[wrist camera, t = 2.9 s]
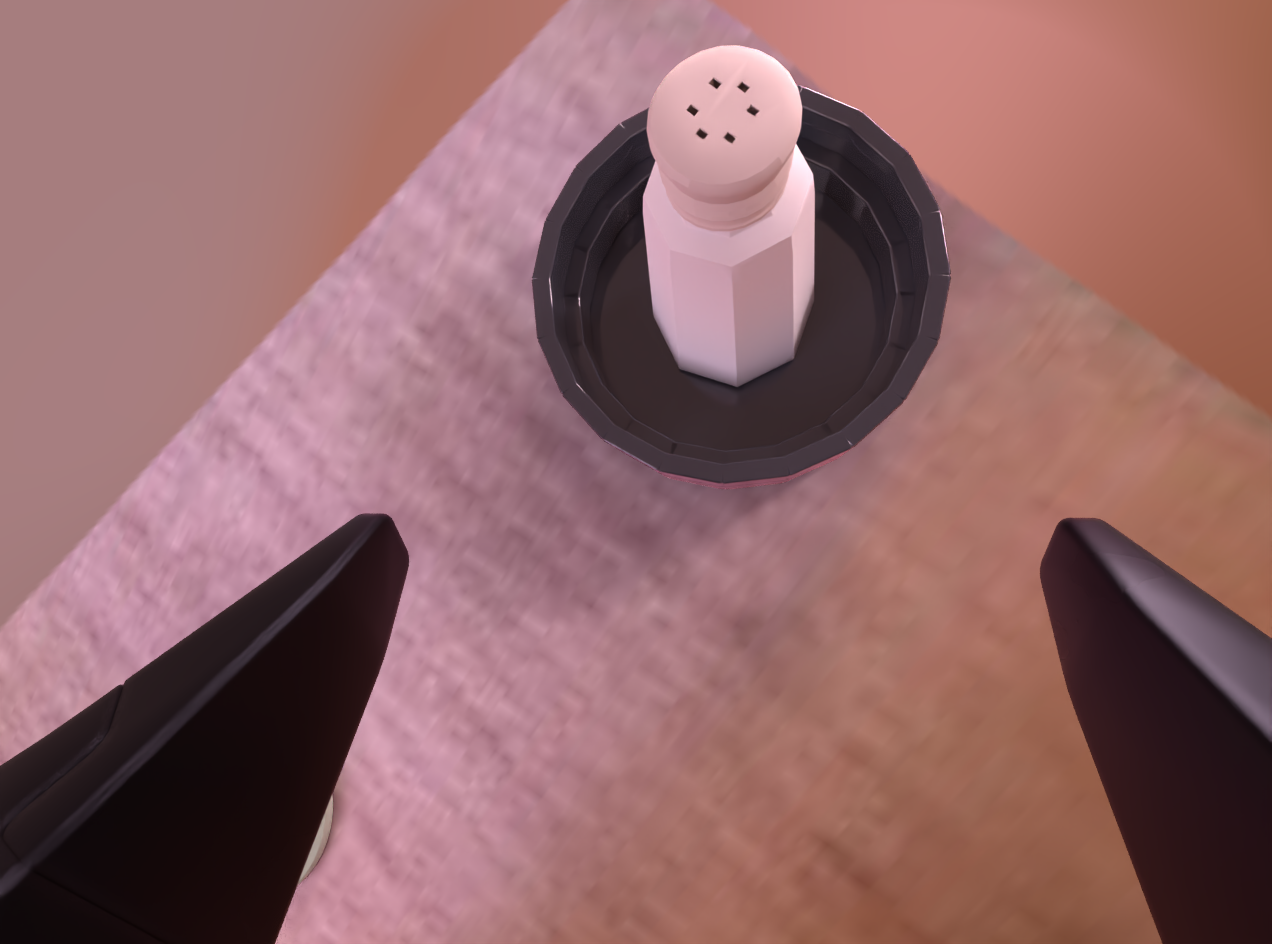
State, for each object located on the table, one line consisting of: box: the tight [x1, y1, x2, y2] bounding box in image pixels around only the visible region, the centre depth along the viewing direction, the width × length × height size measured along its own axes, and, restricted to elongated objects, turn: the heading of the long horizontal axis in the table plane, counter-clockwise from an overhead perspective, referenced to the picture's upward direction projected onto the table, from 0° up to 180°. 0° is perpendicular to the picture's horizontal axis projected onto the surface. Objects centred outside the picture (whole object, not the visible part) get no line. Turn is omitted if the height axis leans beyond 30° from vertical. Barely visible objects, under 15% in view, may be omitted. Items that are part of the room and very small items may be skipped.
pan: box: [532, 85, 951, 490], centre depth 21 cm, size 12×12×4 cm
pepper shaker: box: [643, 45, 815, 387], centre depth 17 cm, size 5×5×11 cm
